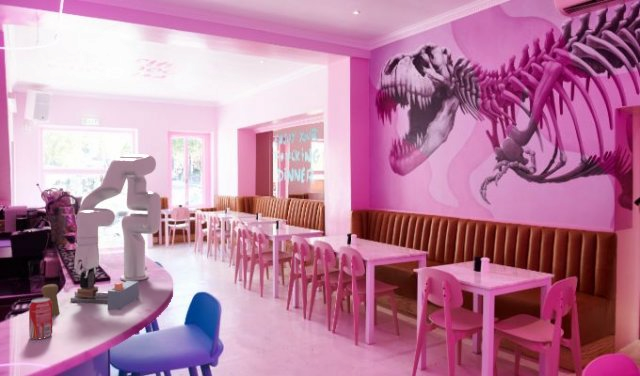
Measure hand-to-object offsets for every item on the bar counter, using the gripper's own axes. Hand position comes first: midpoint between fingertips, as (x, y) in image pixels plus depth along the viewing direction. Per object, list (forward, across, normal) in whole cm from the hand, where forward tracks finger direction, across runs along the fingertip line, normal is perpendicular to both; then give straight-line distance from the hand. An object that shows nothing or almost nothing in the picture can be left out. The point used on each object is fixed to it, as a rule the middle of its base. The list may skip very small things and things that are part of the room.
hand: (87, 285), depth 179 cm
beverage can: (+6, +38, +8) cm, 39 cm away
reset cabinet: (+6, +2, +16) cm, 17 cm away
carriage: (+4, 0, 0) cm, 4 cm away
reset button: (+3, +6, +16) cm, 18 cm away
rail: (+6, 0, +4) cm, 7 cm away
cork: (+6, +18, -3) cm, 19 cm away
